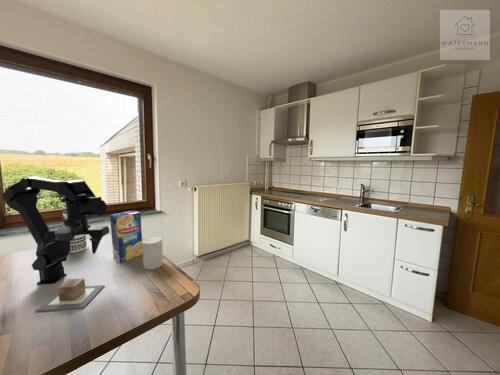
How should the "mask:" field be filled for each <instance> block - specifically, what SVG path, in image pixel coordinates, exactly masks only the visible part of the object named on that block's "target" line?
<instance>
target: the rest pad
mask: <svg viewBox="0 0 500 375" xmlns="http://www.w3.org/2000/svg"><path fill="white" fill-rule="evenodd" d="M105 287H106V286H105V284H100V285H85V292H84V293H83V294H82V295H81V296H80V297H79V298H78V299H77V300H74V301H59V294H58V292H56V293H55V294H54V295H52V296H51V297H50V298H49V299H48V300H46V301H45V302H44V303H43V304H42V305H40V306H39V307H38V308H37V309H35V311H34V312H35V313H38V312H53V311H65V310H66V311H68V310H79V309H85V308H86V307H87V306H88V304H90V302H91V301H92V300H94V298H95V297H96V296H97V295H98V294H99V293H100V292H101V291H102V290H103V289H104V288H105Z"/></svg>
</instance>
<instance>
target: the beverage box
mask: <svg viewBox="0 0 500 375" xmlns="http://www.w3.org/2000/svg"><path fill="white" fill-rule="evenodd" d="M109 219H110V230H111V231H110V232H111V244H112V256H113V260H115V261H116V262H118V263H124V262H127V261H129V260H132V259H134V257H135V258H138V257H140V256H143V255H142V254H143V249H142V241H143V235H142V232H143V231H142V219H141V212H140V211H138V210H129V211H123V212H118V213H112V214H110V215H109ZM139 255H140V256H139ZM137 256H138V257H137Z"/></svg>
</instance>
